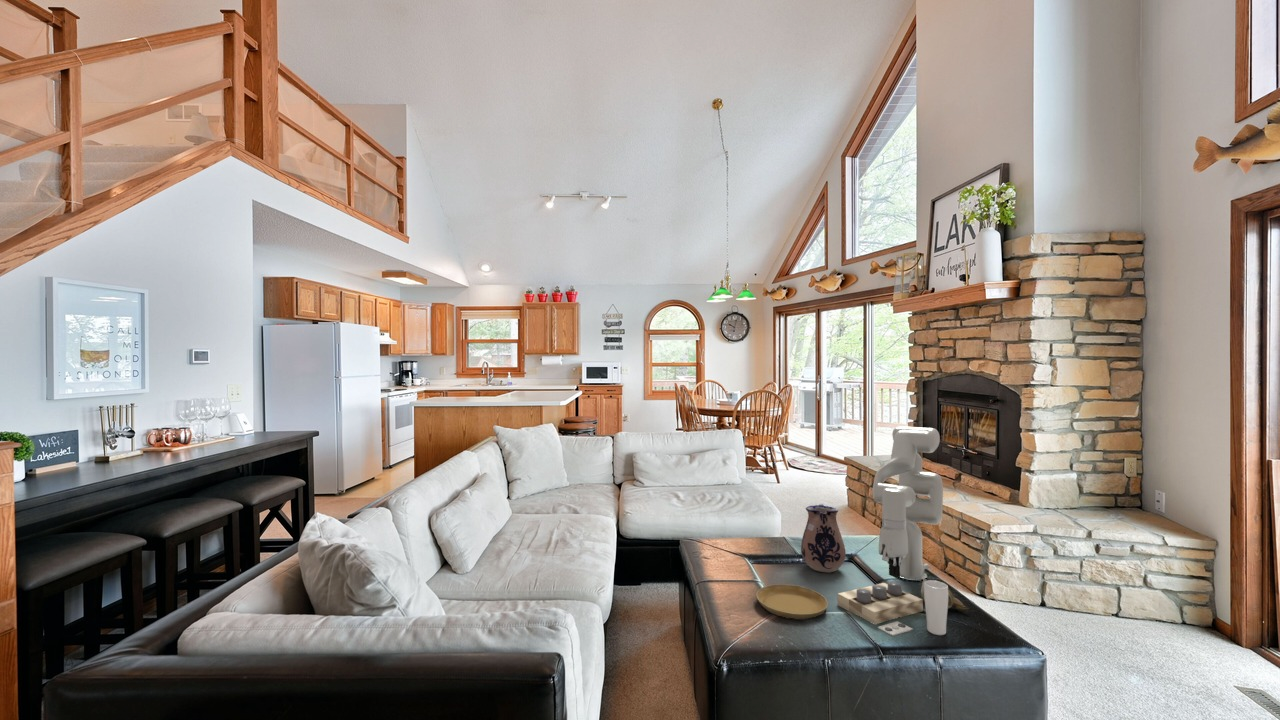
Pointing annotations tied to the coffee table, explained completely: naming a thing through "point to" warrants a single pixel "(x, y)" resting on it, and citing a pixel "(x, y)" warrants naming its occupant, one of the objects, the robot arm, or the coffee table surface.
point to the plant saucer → (792, 601)
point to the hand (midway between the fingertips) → (894, 575)
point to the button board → (881, 605)
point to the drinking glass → (936, 606)
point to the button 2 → (895, 589)
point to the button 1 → (863, 596)
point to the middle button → (879, 592)
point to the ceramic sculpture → (951, 600)
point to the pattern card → (895, 628)
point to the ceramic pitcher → (822, 540)
